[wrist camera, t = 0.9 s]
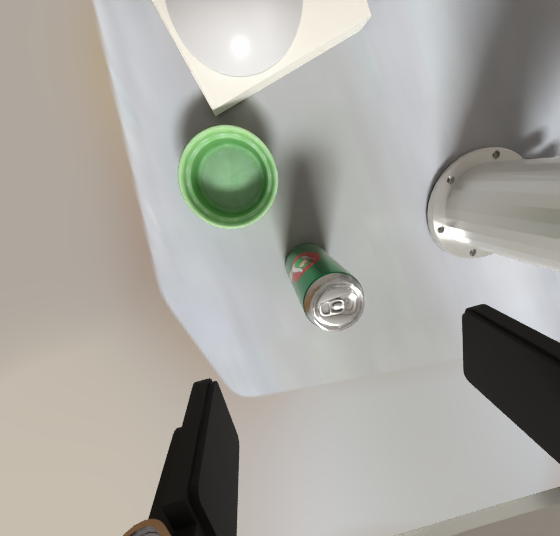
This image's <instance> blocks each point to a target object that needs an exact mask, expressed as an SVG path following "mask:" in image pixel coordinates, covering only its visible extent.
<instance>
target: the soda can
mask: <svg viewBox="0 0 560 536" xmlns="http://www.w3.org/2000/svg"><path fill="white" fill-rule="evenodd" d="M286 271H287V274H288V276H289V278H290V280H291V283H292V285H293V287H294V289H295V292H296V294H297V296H298V299H299V301H300V303H301V305H302V308H303V310H304V312H305V314H306V316H307V318H308V319H309V320H310V321H311V322H312V323H313V324H315V325H316V326H318V327H321V328H323V329H325V330H328V331H341V330H344V329H347V328H349V327H350V326H352V325H353V324H355V323H356V322H357V321H358V319H359V318H360V316H361V314H362V312H363V309H364V295H363V290H362V287H361V285H360V283H359V282H358V281H357V279H356V278H354V277H353V276H352V275H351V274H350V273H349V272H348V271H347V270H346V269H344V268H343V267H342V266H341V265H340V264H339V263H338V262H337V261H335V260H334V259H333V258H332V257H331V256H330V255H329V254H328V253H327V252H325V251H324V250H323V249H322V248H321V247H319V246H318V245H315V244H302V245H300V246H297V247H296V248H295V249H293V250H292V251H291V252H290V254H289V256H288V258H287V261H286Z"/></svg>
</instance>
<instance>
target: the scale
mask: <svg viewBox="0 0 560 536" xmlns="http://www.w3.org/2000/svg"><path fill="white" fill-rule="evenodd" d="M152 2H153V4H154V6H155V8H156V9H157V11H158V13H159V15H160V17H161V19H162V20H163V22H164V24H165V26H166V28H167V29H168V31H169V33H170V35H171V37H172V38H173V40H174V42H175V44H176V46H177V48H178V49H179V51H180V53H181V55H182V57H183V58H184V60H185V62H186V64H187V66H188V67H189V69H190V71H191V73H192V75H193V76H194V78H195V80H196V82H197V84H198V86H199V87H200V89H201V91H202V93H203V95H204V96H205V98H206V100H207V102H208V104H209V105H210V107H211V109H212V111H213V113H214V115H215V116H217V115H219V114H221V113H222V112H224V111H226V110H227V109H229V108H231V107H232V106H234V105H236V104H237V103H239V102H241V101H243V100H244V99H246V98H248V97H249V96H251V95H253V94H254V93H256V92H258V91H259V90H261V89H263V88H264V87H266V86H268V85H269V84H271V83H273V82H274V81H276V80H278V79H280V78H281V77H283V76H285V75H286V74H288V73H290V72H291V71H293V70H295V69H296V68H298V67H300V66H301V65H303V64H305V63H306V62H308V61H310V60H311V59H313V58H315V57H317V56H318V55H320V54H322V53H323V52H325V51H327V50H328V49H330V48H332V47H333V46H335V45H337V44H338V43H340V42H342V41H343V40H345V39H347V38H348V37H350V36H352V35H353V34H355V33H357V32H359V31H360V30H361V29H362V28H363V26H364V25H365V24H366V22H367V21H368V20H369V18H370V17H371V13H370V10H369V7H368V4H367V1H366V0H152Z"/></svg>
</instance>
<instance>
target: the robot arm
mask: <svg viewBox="0 0 560 536" xmlns="http://www.w3.org/2000/svg"><path fill="white" fill-rule="evenodd" d="M427 217H428V226H429V229H430V233H431V235H432V237H433V239H434V241H435V242H436V243H437V244H438V245H439V247H440V248H442V249H443V250H444V251H446V252H447V253H450V254H452V255H455V256H458V257H461V258H467V259H475V258H481V257H485V256H488V255H491V254H493V253H495V254H498V255H501V256H505V257H508V258H512V259H515V260H518V261H522V262H525V263H529V264H532V265H535V266H539V267H542V268H546V269H549V270H553V271H556V272H559V273H560V154H558V155H557V156H555V157H551V158H538V159H525V160H524V159H523V158H522V157H521V156H520V155H519V154H518V153H516V152H514V151H512V150H510V149H506V148H502V147H488V148H481V149H477V150H474V151H471V152H468V153H467V154H465V155H463V156H461V157H459V158H458V159H457V160H456V161H454V162H453V163H452V164H451V165H449V167H448V168H447V169H446V170H445V171H444V172H443V173H442V175H441V176H440V178H439V179H438V181H437V182H436V184H435V186H434V189H433V191H432V193H431V196H430V200H429V204H428V213H427ZM462 332H463V368H464V375H465V377H466V379H467V380H468V381H469V382H470V383H471V384H472V385H473V386H474V387H475V388H477V389H478V390H479V391H480V392H481V393H482V394H483V395H484V396H485V397H486V398H487V399H489V400H490V401H491V402H492V403H493V404H494V405H495V406H496V407H497V408H499V409H500V410H501V411H502V412H503V413H504V414H505V415H506V416H507V417H509V418H510V419H511V420H512V421H513V422H514V423H515V424H517V426H518V427H519V428H521V429H522V430H523V431H524V432H525V433H526V434H527V435H528V436H529V437H530V438H532V439H533V440H534V441H535V442H536V443H537V444H538V445H539V446H540V447H541V448H543V449H544V450H545V451H546V452H547V453H548V454H549V455H550V456H551V457H553V458H554V459H555V460H556V461H557V462H558V463H559V464H560V343H559V342H557V341H555V340H553V339H551V338H549V337H547V336H545V335H544V334H542V333H540V332H538V331H536V330H534V329H532V328H530V327H528V326H526V325H524V324H522V323H520V322H519V321H517V320H515V319H513V318H511V317H509V316H507V315H505V314H503V313H501V312H499V311H497V310H495V309H493V308H492V307H490V306H488V305H485V304H481V305H477V306H473V307H470V308H467V309H466V310H465V313H464V314H463V315H462ZM238 471H239V439H238V435H237V432H236V429H235V427H234V424H233V422H232V419H231V416H230V414H229V411H228V408H227V406H226V403H225V400H224V398H223V395H222V393H221V390H220V387H219V385H218V382H217V381H214V382H212V380H211V379H210V378H209V379H205V380H201V381H198V382H195V383H194V384H193V387H192V391H191V395H190V398H189V402H188V406H187V410H186V413H185V417H184V421H183V425H182V427H180V428H177V429H176V430H175V431H174V434H173V437H172V440H171V444H170V447H169V451H168V454H167V457H166V461H165V464H164V468H163V471H162V474H161V478H160V481H159V484H158V488H157V491H156V495H155V498H154V502H153V505H152V509H151V512H150V515H149V519H148V520H144V521H142V522H140V523H138V524H136V525H134V526H133V527H132V528H131V529H130V530H128V531H127V532H126V533H125V534H124V535H123V536H237V535H236V534H237V504H238V502H237V501H238ZM396 536H560V487H557V488H554V489H550V490H547V491H543V492H540V493H536V494H533V495H530V496H526V497H523V498H519V499H516V500H513V501H509V502H506V503H502V504H499V505H496V506H492V507H489V508H486V509H482V510H479V511H476V512H472V513H469V514H466V515H462V516H459V517H455V518H452V519H449V520H446V521H442V522H439V523H435V524H432V525H429V526H426V527H422V528H419V529H416V530H412V531H409V532H406V533H402V534H399V535H396Z"/></svg>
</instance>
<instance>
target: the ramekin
mask: <svg viewBox="0 0 560 536" xmlns="http://www.w3.org/2000/svg"><path fill="white" fill-rule="evenodd" d="M178 182H179V187H180V191H181V194H182V196H183V198H184V200H185V202H186V203H187V205H188V206H189V208H190V209H191V210H192V211H193V212H194V213H195V214H196V215H197V216H198V217H199V218H201V219H202V220H204V221H205V222H207V223H209V224H211V225H214V226H217V227H221V228H228V229H234V228H241V227H245V226H248V225H250V224H252V223H254V222H256V221H257V220H259V219H260V218H261V217H262V216H263V215H264V214H265V213H266V212H267V211H268V210H269V208H270V207H271V205H272V203H273V201H274V199H275V197H276V193H277V189H278V171H277V166H276V163H275V160H274V158H273V156H272V154H271V152H270V151H269V149H268V148H267V146H266V145H265V144H264V142H263V141H262V140H261V139H260V138H258V137H257V136H256V135H255V134H253V133H252V132H250V131H248V130H246V129H244V128H241V127H238V126H234V125H217V126H213V127H209V128H207V129H205V130H203V131H201V132H200V133H198V134H197V135H195V136H194V137H193V138H192V139H191V140H190V141H189V143H188V144H187V145H186V147H185V149H184V150H183V152H182V155H181V157H180V161H179V166H178Z"/></svg>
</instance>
